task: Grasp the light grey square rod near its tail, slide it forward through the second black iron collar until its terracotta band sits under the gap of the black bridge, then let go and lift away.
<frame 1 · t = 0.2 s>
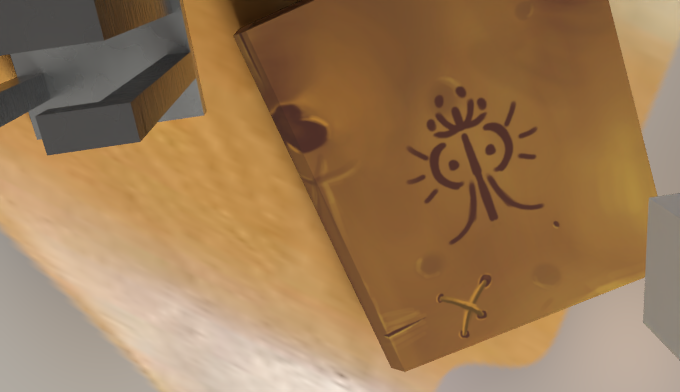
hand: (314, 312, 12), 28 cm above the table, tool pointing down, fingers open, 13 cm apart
diary: (449, 135, 40), on the table
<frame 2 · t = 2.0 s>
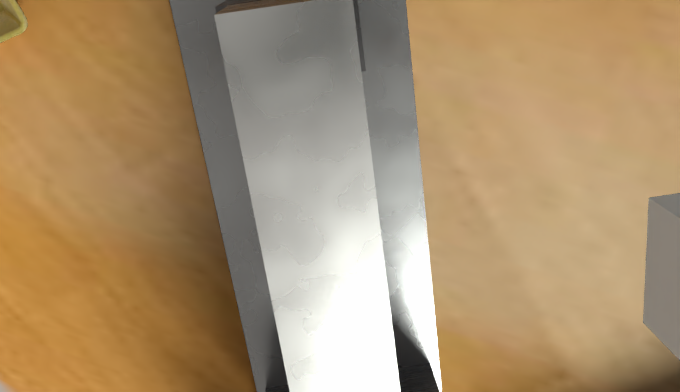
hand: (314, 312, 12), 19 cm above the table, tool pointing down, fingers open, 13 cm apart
light grey square rod: (339, 344, 24), point 8 cm above the table, slide at 0.0 cm
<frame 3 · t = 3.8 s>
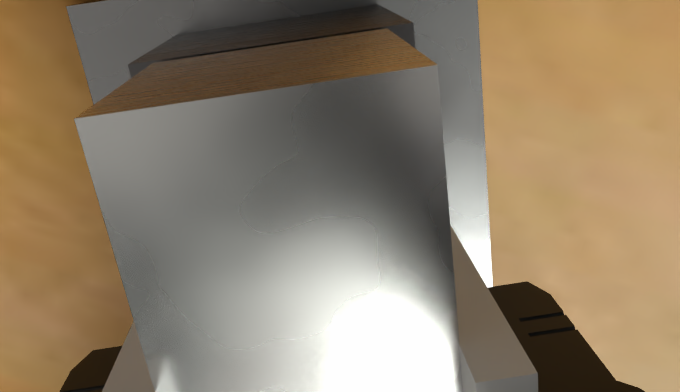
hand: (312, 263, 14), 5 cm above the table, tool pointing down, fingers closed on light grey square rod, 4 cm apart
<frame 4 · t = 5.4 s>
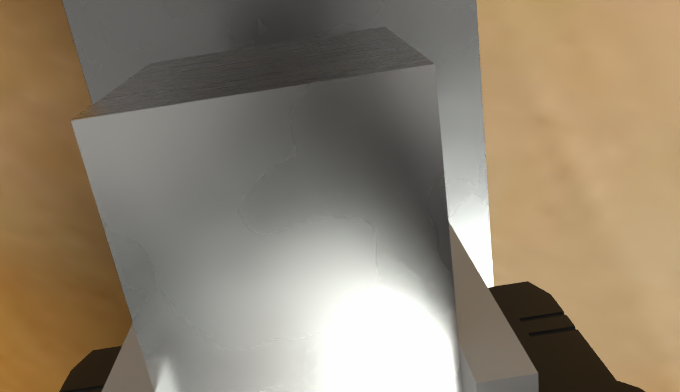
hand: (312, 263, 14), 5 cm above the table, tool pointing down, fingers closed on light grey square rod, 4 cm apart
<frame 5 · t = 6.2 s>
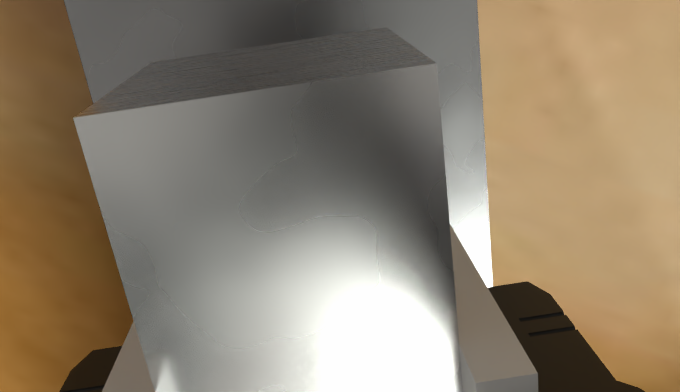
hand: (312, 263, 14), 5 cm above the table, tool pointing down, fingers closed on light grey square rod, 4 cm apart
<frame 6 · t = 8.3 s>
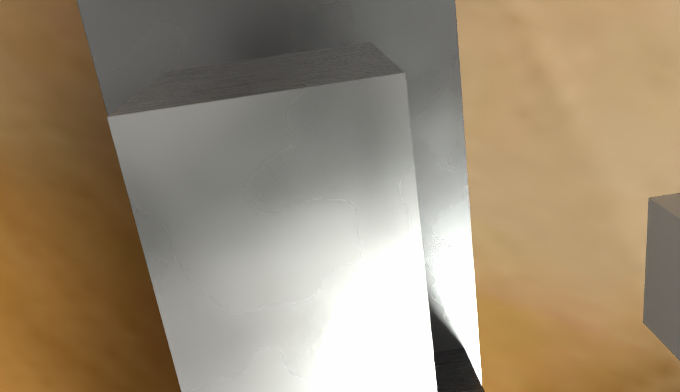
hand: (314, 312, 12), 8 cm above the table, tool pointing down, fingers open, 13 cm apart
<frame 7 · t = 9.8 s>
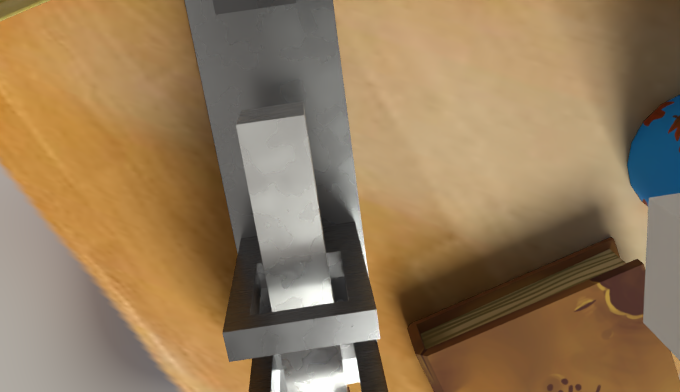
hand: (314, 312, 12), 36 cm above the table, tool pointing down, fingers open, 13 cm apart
light grey square rod: (303, 298, 43), point 8 cm above the table, slide at 9.0 cm
firebox collars: (307, 280, 51), on the table
diary: (545, 378, 57), on the table
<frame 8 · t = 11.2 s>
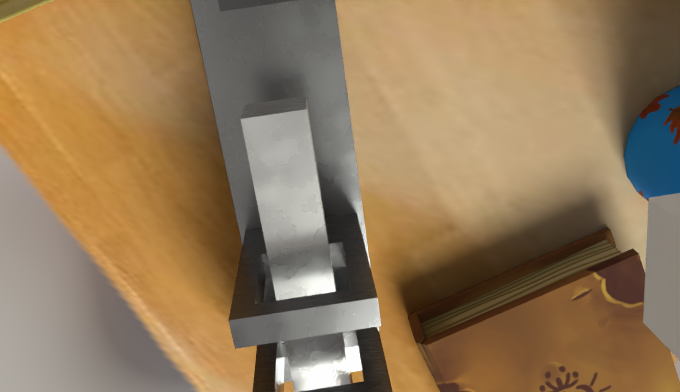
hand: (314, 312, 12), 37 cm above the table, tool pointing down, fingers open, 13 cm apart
light grey square rod: (306, 287, 44), point 8 cm above the table, slide at 9.0 cm
firebox collars: (310, 270, 53), on the table
diary: (544, 366, 59), on the table
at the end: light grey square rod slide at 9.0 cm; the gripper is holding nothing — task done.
